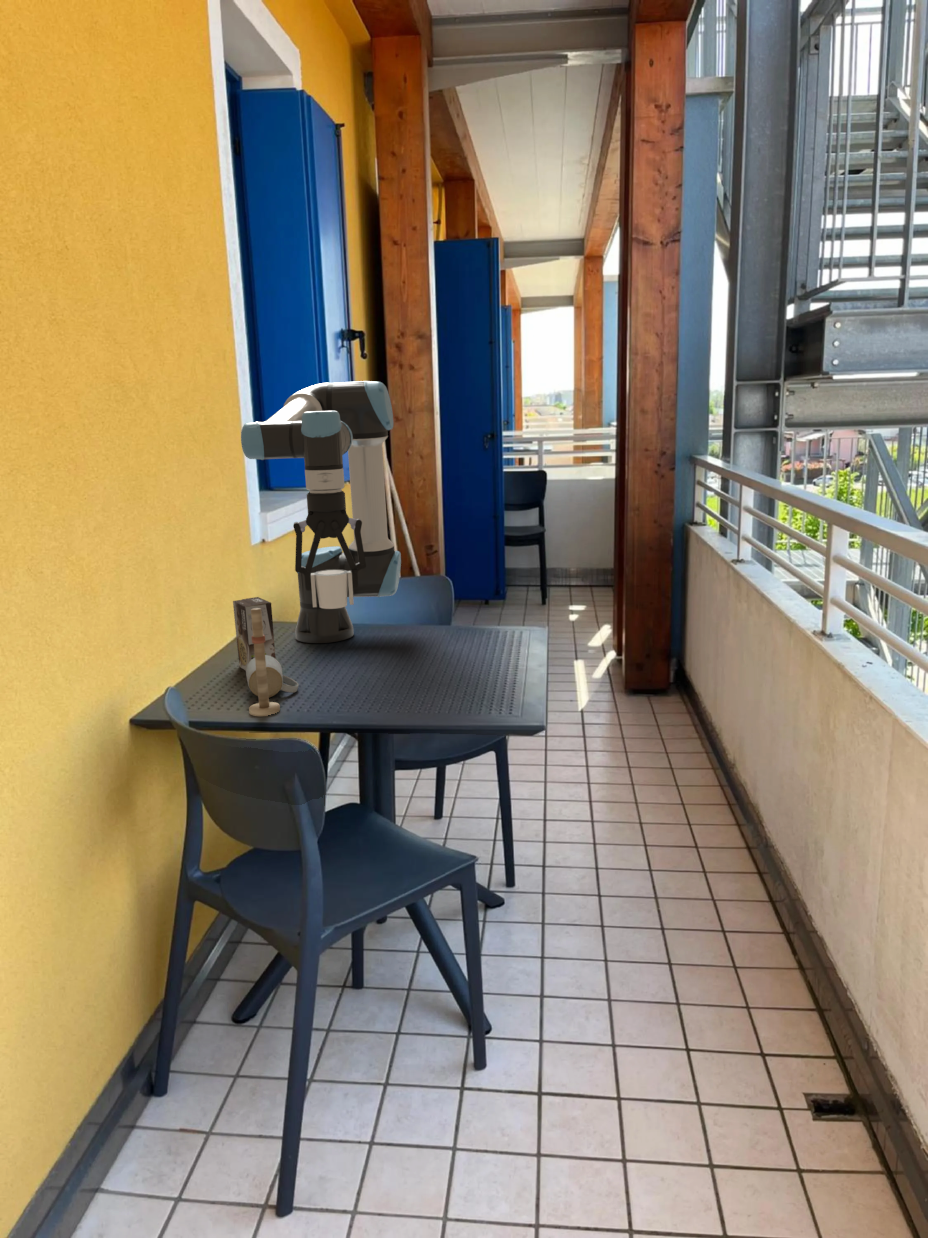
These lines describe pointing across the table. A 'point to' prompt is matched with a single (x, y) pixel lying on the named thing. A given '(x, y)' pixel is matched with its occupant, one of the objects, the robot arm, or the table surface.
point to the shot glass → (332, 588)
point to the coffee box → (245, 628)
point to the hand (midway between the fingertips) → (333, 604)
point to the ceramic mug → (270, 677)
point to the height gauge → (261, 669)
